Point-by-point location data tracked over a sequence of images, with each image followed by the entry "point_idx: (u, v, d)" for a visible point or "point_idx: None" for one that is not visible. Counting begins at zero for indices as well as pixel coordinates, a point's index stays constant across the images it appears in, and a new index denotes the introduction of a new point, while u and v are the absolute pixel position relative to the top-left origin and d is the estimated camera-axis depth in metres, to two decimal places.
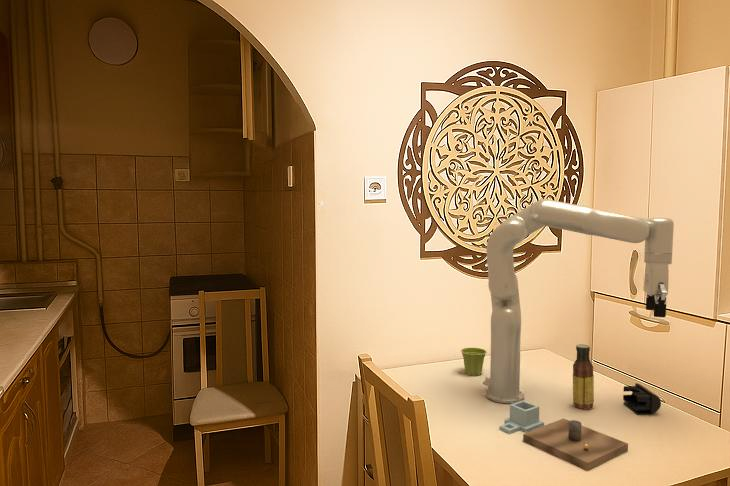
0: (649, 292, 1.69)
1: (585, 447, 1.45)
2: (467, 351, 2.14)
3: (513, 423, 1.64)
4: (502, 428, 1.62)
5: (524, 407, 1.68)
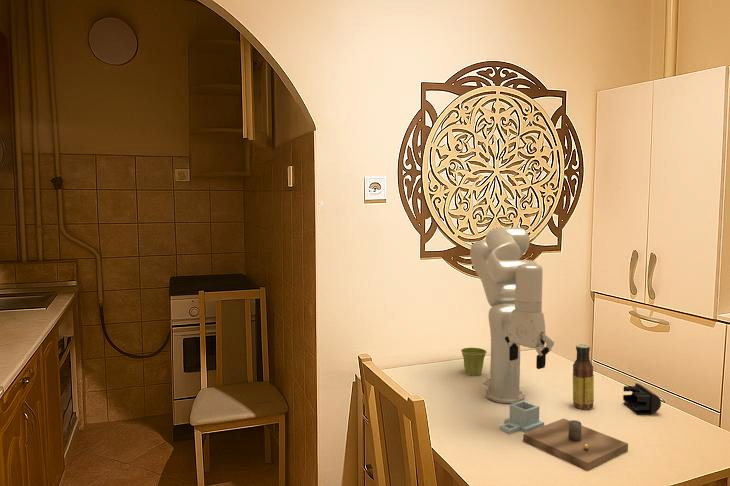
0: (531, 344, 1.59)
1: (585, 447, 1.45)
2: (467, 351, 2.14)
3: (513, 423, 1.64)
4: (502, 428, 1.62)
5: (524, 407, 1.68)
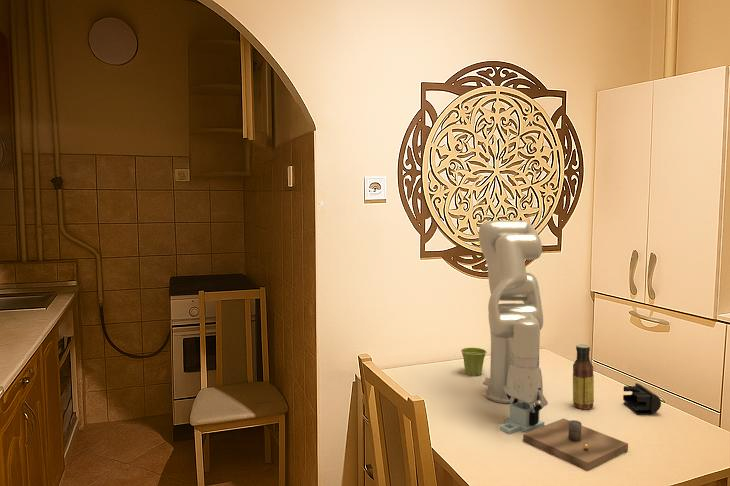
0: (528, 400, 1.61)
1: (585, 447, 1.45)
2: (467, 351, 2.14)
3: (513, 423, 1.64)
4: (502, 428, 1.62)
5: (524, 407, 1.68)
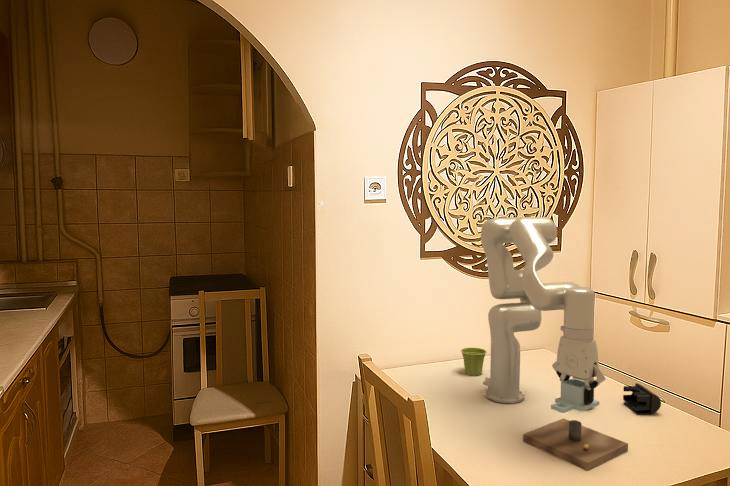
0: (583, 375, 1.45)
1: (585, 447, 1.45)
2: (467, 351, 2.14)
3: (565, 402, 1.49)
4: (554, 407, 1.46)
5: (576, 385, 1.53)
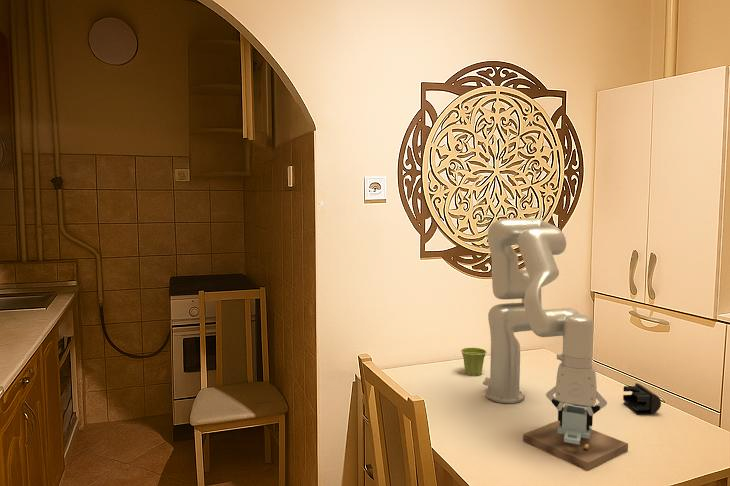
0: (589, 403, 1.47)
1: (585, 447, 1.45)
2: (467, 351, 2.14)
3: (570, 431, 1.48)
4: (568, 440, 1.44)
5: (569, 411, 1.54)
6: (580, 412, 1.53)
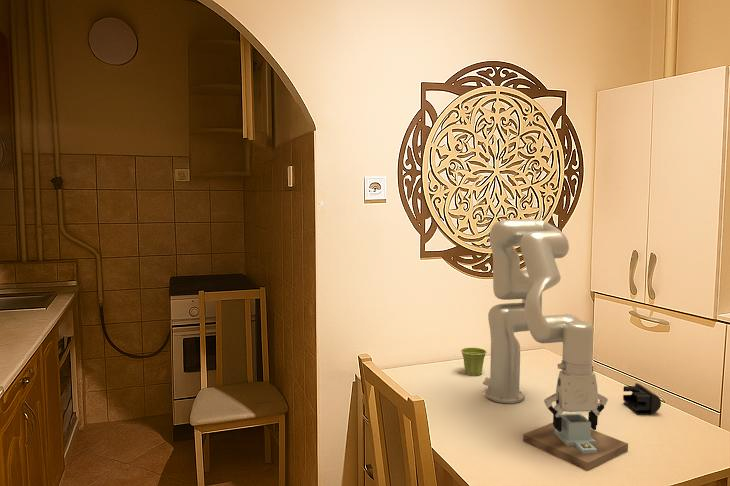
0: (593, 407, 1.49)
1: (585, 447, 1.45)
2: (467, 351, 2.14)
3: (578, 441, 1.48)
4: (586, 451, 1.43)
5: None
6: (575, 419, 1.54)
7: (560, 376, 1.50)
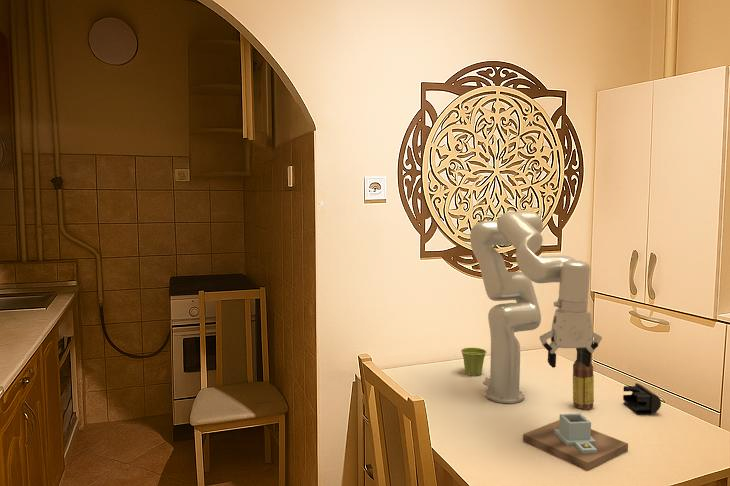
0: (587, 344, 1.52)
1: (585, 447, 1.45)
2: (467, 351, 2.14)
3: (578, 441, 1.48)
4: (586, 451, 1.43)
5: None
6: (575, 419, 1.54)
7: (556, 314, 1.53)
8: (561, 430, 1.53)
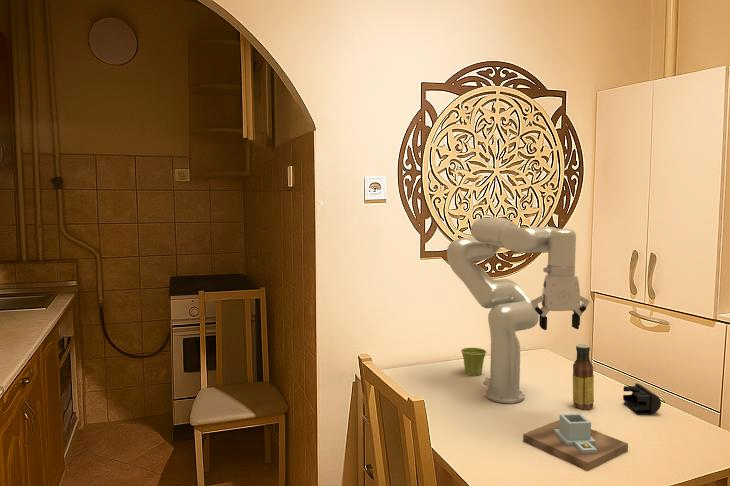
0: (575, 306, 1.62)
1: (585, 447, 1.45)
2: (467, 351, 2.14)
3: (578, 441, 1.48)
4: (586, 451, 1.43)
5: None
6: (575, 419, 1.54)
7: (546, 279, 1.64)
8: (561, 430, 1.53)
